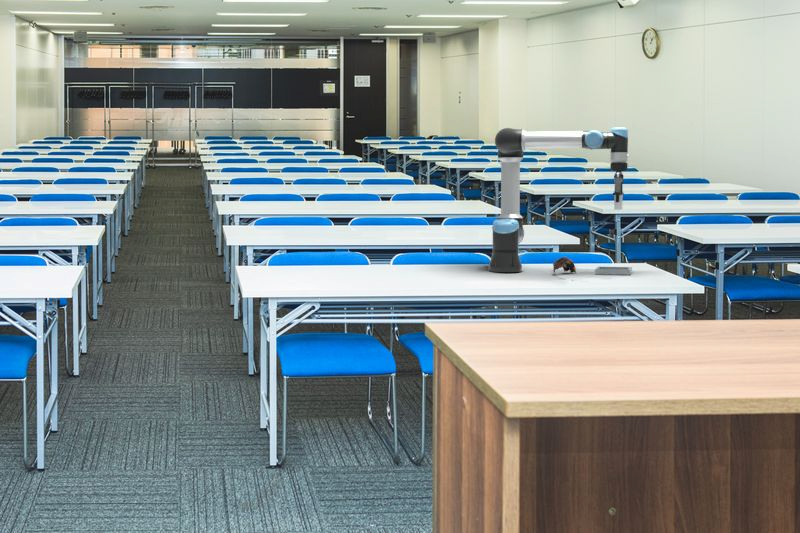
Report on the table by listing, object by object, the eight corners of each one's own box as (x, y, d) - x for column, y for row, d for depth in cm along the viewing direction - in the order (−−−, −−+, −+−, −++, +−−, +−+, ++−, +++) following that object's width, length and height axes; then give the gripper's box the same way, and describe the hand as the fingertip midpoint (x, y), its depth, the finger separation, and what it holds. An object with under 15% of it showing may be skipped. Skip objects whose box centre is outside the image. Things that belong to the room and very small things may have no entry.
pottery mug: (578, 273, 472) (569, 257, 471) (559, 283, 474) (550, 267, 473) (577, 267, 484) (568, 251, 483) (559, 276, 486) (550, 261, 485)
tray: (595, 274, 471) (595, 269, 471) (597, 272, 487) (597, 266, 487) (630, 275, 468) (630, 269, 467) (631, 272, 483) (631, 267, 483)
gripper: (626, 161, 470) (625, 209, 472) (628, 162, 494) (628, 209, 496) (608, 161, 472) (607, 209, 474) (612, 162, 496) (611, 208, 498)
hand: (618, 209), depth 485 cm, fingers open, 13 cm apart
